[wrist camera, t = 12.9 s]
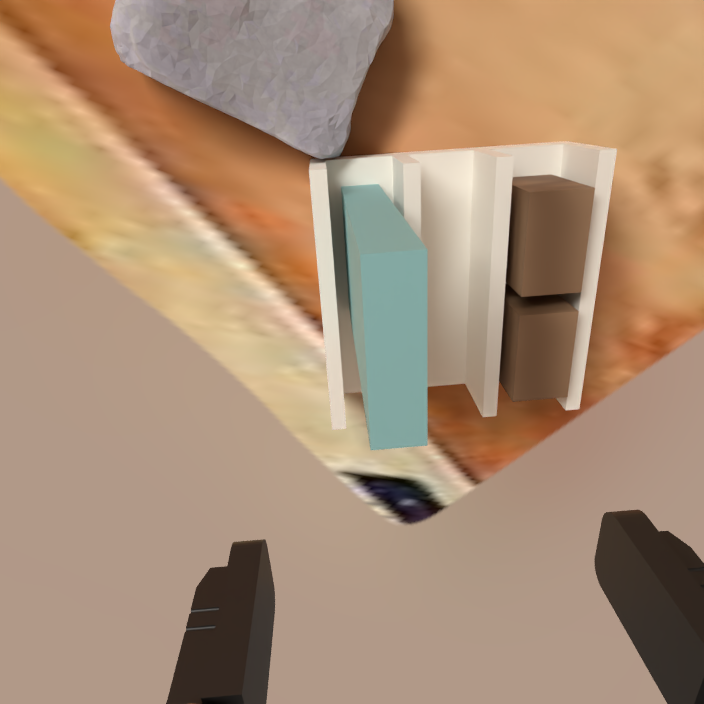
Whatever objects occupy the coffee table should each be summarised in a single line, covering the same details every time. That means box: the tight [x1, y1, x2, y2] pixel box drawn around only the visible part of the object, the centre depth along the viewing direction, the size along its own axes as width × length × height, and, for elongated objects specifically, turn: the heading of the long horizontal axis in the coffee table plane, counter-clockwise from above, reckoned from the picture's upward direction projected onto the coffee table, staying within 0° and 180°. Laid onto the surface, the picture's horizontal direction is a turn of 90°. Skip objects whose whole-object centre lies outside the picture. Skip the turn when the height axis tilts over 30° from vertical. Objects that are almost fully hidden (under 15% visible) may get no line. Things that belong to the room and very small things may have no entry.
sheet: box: [341, 184, 428, 450], centre depth 23 cm, size 2×7×14 cm, turn 4°
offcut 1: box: [506, 174, 595, 297], centre depth 27 cm, size 3×5×5 cm, turn 4°
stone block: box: [110, 0, 394, 159], centre depth 25 cm, size 12×5×10 cm
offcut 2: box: [499, 284, 579, 402], centre depth 30 cm, size 3×5×5 cm, turn 3°
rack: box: [309, 141, 617, 430], centre depth 30 cm, size 14×14×6 cm
